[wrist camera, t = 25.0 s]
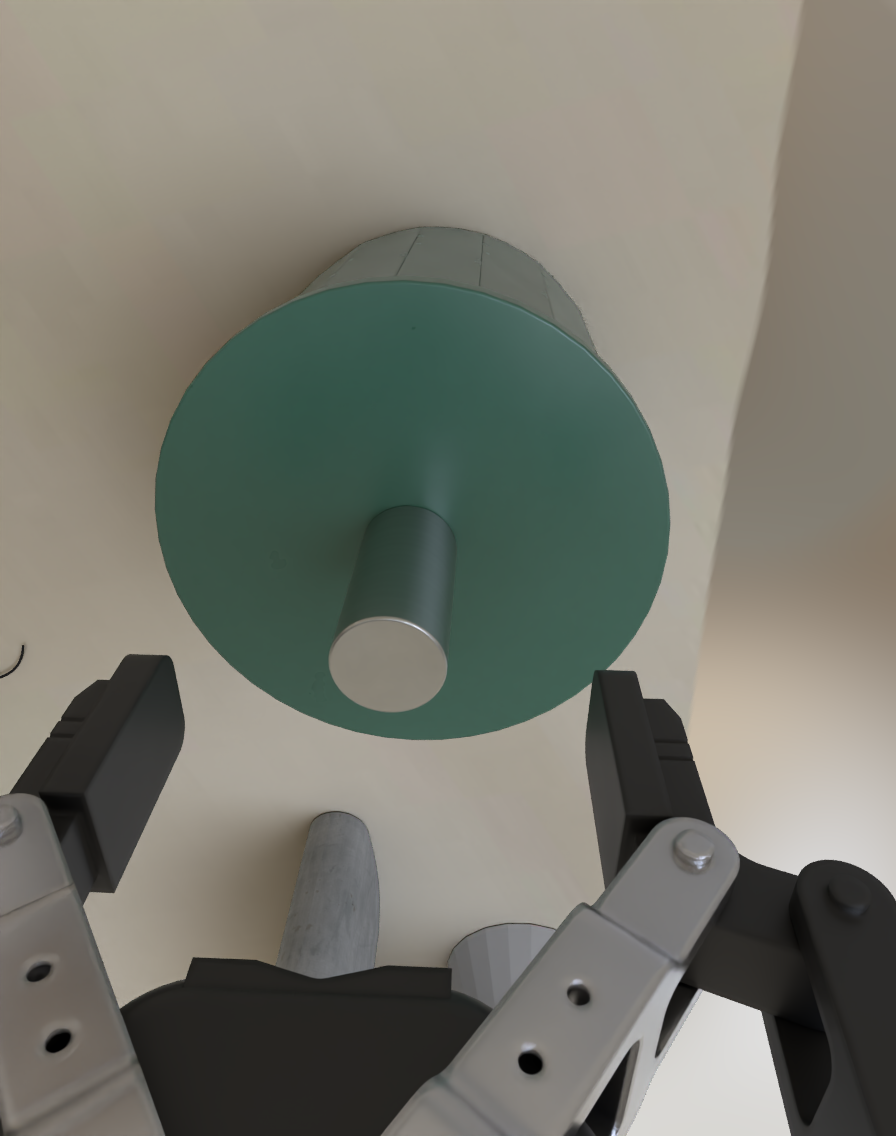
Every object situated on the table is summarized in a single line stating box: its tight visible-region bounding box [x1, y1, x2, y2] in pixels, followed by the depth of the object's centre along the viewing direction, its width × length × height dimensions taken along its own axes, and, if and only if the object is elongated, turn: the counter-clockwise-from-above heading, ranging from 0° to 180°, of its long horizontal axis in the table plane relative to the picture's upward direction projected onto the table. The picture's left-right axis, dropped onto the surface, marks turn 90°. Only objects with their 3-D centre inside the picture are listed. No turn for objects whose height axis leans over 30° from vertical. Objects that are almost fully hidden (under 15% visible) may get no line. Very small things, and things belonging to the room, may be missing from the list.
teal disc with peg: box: [155, 276, 670, 740], centre depth 19 cm, size 13×13×6 cm
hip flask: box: [276, 812, 380, 979], centre depth 38 cm, size 16×4×20 cm, turn 177°
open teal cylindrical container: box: [299, 227, 598, 355], centre depth 26 cm, size 12×12×12 cm
